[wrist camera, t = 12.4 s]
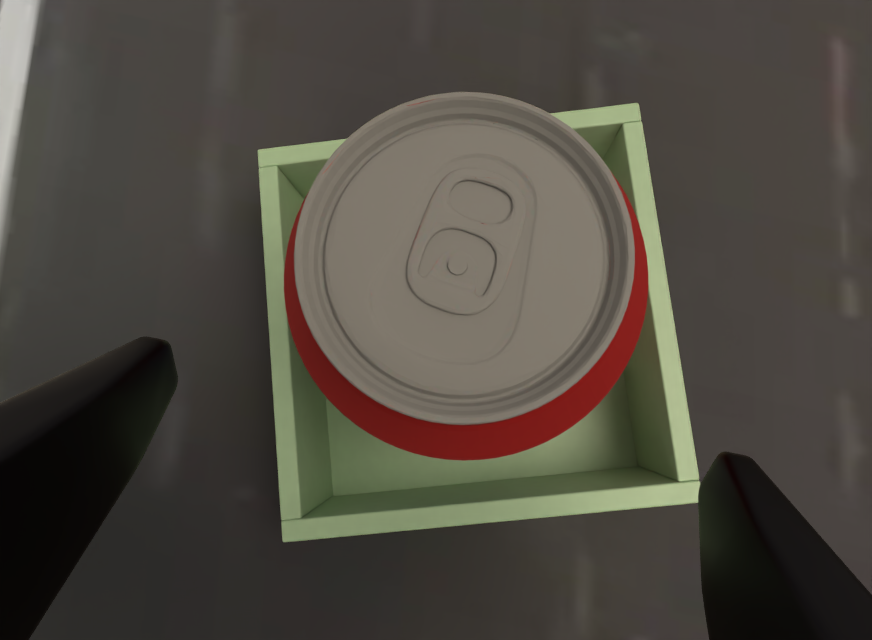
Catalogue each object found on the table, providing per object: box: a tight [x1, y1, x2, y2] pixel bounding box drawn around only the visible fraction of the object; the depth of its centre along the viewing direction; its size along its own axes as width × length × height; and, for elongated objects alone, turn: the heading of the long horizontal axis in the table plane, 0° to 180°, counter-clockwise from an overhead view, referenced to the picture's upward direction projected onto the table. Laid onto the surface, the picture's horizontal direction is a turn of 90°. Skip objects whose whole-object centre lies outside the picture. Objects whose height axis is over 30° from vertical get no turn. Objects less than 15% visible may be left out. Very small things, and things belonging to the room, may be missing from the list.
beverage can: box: [284, 92, 648, 461], centre depth 15 cm, size 7×7×12 cm
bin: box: [258, 103, 700, 542], centre depth 19 cm, size 12×12×4 cm
